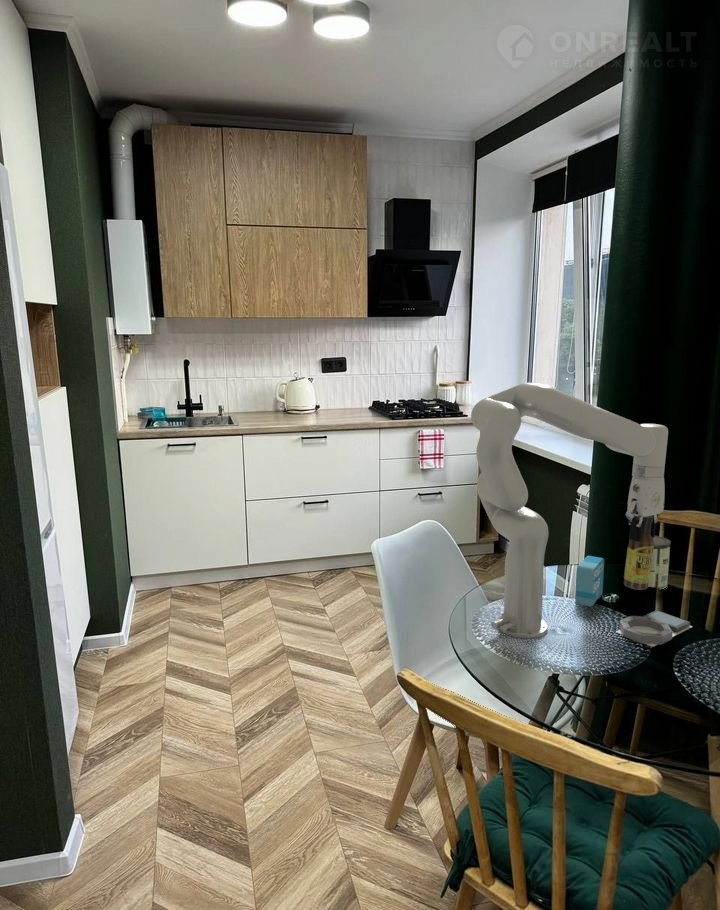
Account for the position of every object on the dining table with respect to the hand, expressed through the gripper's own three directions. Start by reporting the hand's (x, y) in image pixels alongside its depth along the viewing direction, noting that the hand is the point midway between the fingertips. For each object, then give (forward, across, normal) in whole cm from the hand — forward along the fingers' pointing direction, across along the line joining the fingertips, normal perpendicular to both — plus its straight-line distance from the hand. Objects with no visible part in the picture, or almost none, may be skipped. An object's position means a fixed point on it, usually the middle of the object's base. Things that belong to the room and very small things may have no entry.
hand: (641, 537), depth 171 cm
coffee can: (+21, +22, +9) cm, 32 cm away
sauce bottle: (+14, 0, 0) cm, 14 cm away
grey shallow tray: (+22, -6, -10) cm, 25 cm away
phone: (+20, -1, -10) cm, 22 cm away
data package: (+22, -2, +12) cm, 25 cm away
